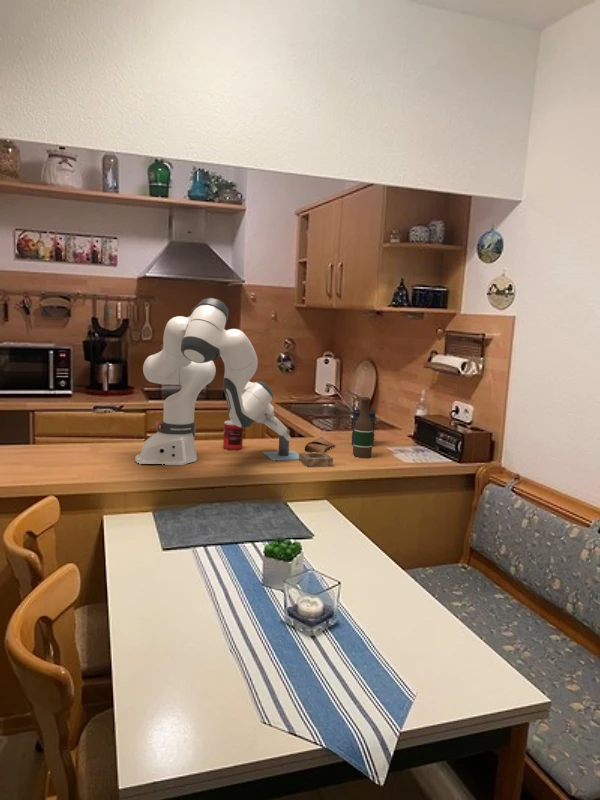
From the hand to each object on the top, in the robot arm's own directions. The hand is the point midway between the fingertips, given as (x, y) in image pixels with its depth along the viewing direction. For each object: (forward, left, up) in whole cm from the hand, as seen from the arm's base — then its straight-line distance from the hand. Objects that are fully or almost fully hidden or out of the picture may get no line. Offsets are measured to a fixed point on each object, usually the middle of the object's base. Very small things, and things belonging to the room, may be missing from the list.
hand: (285, 436), depth 240 cm
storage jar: (+40, +16, -8) cm, 44 cm away
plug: (-1, 0, -7) cm, 7 cm away
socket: (+8, -13, -8) cm, 17 cm away
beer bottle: (+31, -4, -8) cm, 33 cm away
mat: (-1, 0, -8) cm, 8 cm away
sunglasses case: (+19, +11, -9) cm, 24 cm away
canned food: (-18, +15, -8) cm, 25 cm away
